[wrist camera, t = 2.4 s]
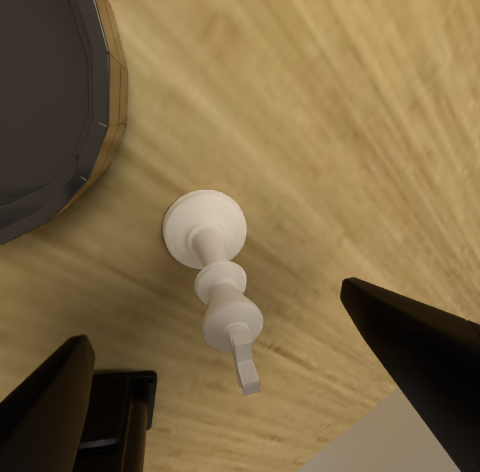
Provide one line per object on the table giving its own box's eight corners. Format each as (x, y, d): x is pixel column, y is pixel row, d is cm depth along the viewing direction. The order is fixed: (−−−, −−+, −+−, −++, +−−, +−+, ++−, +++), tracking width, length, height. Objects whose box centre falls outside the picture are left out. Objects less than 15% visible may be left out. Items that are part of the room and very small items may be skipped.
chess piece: (172, 271, 16) (170, 469, 7) (153, 195, 13) (118, 343, 5) (247, 257, 16) (332, 415, 8) (242, 183, 14) (351, 288, 6)
